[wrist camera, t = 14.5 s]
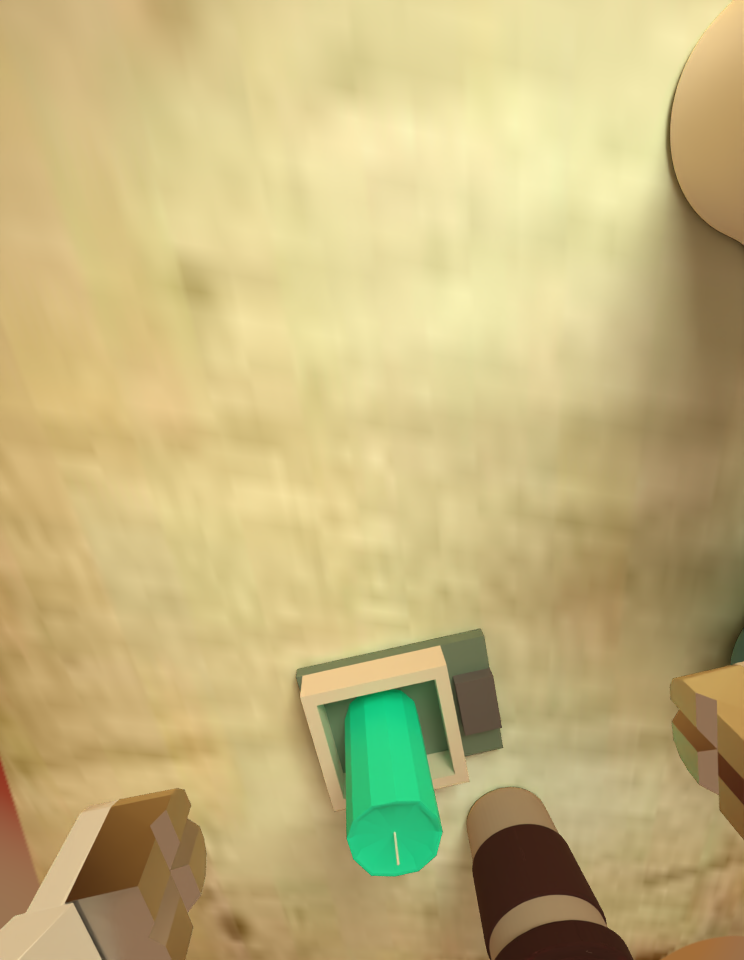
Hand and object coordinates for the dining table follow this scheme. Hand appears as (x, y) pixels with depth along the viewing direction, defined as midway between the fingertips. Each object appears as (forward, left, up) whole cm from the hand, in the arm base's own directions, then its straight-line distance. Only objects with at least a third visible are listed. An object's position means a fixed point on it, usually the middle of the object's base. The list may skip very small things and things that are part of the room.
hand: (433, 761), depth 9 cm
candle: (+3, +23, -28) cm, 37 cm away
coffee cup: (-5, +37, -29) cm, 48 cm away
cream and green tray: (+2, +23, -29) cm, 37 cm away
